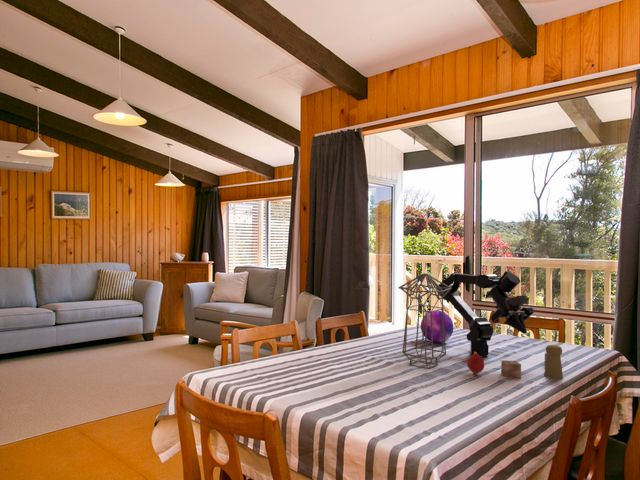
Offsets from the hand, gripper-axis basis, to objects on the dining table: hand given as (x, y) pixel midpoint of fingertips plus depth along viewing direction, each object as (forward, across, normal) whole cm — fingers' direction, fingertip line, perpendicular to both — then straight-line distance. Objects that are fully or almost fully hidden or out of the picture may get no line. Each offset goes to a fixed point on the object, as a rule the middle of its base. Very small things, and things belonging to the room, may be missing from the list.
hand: (525, 333), depth 175 cm
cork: (+18, +1, +2) cm, 18 cm away
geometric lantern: (-4, -33, +23) cm, 40 cm away
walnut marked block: (+13, -14, +6) cm, 20 cm away
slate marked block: (+10, +14, +9) cm, 20 cm away
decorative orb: (-25, +2, +45) cm, 52 cm away
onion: (+8, -24, +11) cm, 27 cm away
